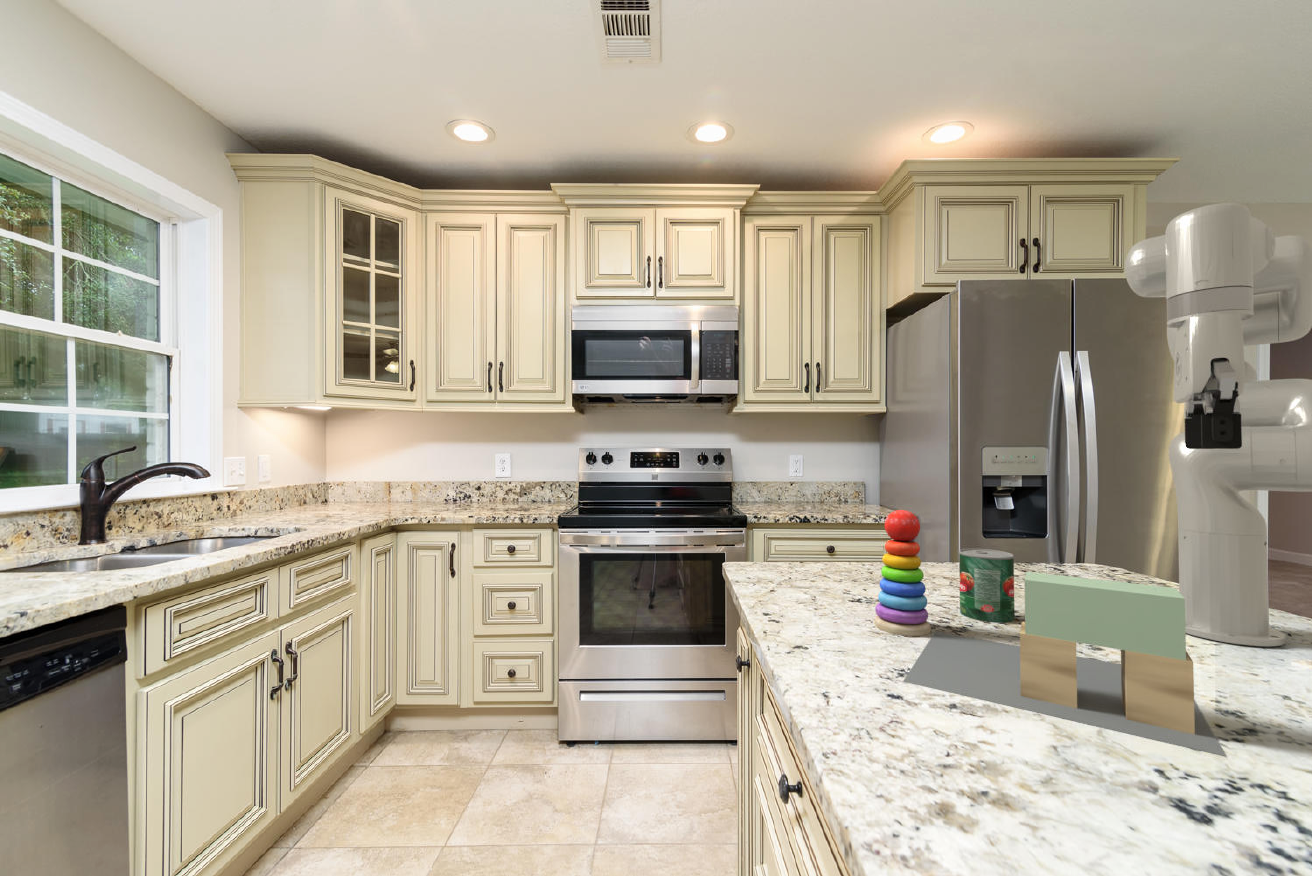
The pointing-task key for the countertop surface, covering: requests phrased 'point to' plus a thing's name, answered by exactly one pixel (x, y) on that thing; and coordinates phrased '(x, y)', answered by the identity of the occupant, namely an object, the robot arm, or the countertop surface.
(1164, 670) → the pillar
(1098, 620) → the beam
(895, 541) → the stacking toy
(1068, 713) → the mat
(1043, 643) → the pillar
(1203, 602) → the robot arm
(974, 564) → the canned tomato
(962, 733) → the countertop surface
